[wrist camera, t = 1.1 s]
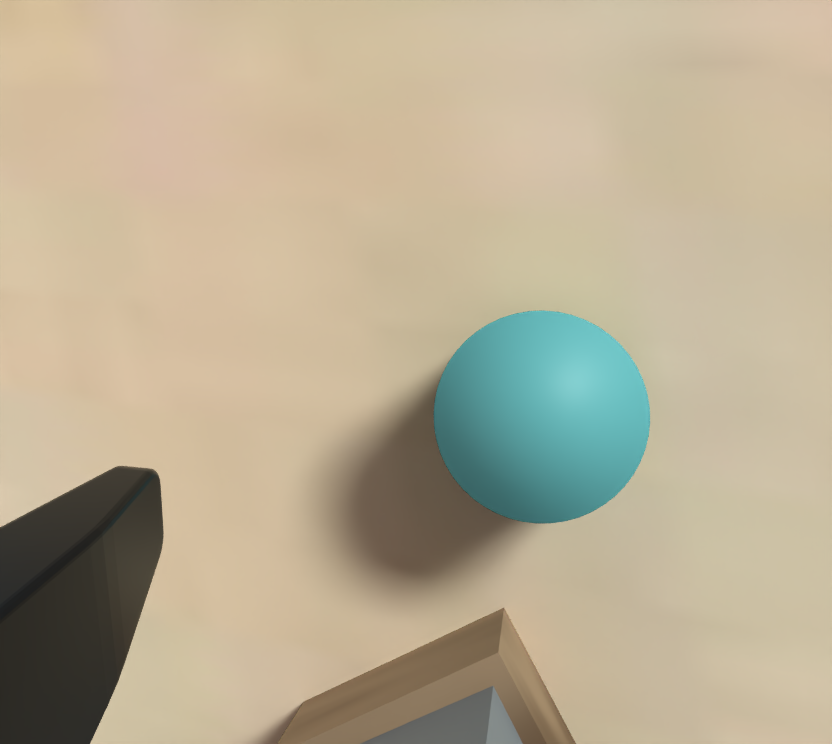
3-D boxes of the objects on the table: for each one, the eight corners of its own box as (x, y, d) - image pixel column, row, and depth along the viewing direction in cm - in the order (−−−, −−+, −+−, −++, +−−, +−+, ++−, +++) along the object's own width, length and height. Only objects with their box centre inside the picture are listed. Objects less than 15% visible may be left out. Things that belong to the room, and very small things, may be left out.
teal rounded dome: (646, 465, 23) (672, 499, 18) (476, 501, 23) (461, 541, 19) (605, 295, 22) (621, 287, 18) (436, 337, 23) (411, 339, 19)
